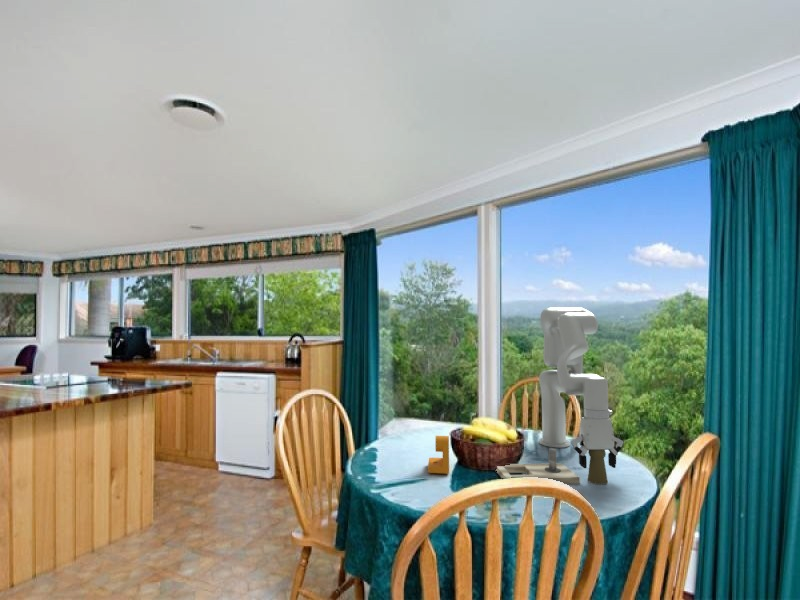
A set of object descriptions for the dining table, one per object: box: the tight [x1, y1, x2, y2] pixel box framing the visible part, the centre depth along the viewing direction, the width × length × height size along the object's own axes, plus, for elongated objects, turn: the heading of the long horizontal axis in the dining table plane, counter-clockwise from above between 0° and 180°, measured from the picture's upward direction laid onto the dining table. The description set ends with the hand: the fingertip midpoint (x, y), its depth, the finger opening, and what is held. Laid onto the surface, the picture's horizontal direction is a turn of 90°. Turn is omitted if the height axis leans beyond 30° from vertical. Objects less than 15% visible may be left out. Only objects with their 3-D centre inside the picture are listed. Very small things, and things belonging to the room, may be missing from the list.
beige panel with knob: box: [495, 447, 581, 485], centre depth 146 cm, size 14×24×9 cm, turn 92°
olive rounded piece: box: [587, 450, 609, 485], centre depth 142 cm, size 6×6×11 cm
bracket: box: [427, 435, 450, 474], centre depth 153 cm, size 11×7×12 cm, turn 174°
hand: (597, 466), depth 142 cm, fingers open, 9 cm apart
